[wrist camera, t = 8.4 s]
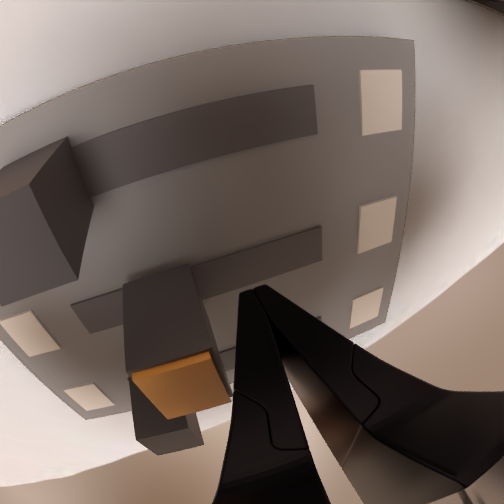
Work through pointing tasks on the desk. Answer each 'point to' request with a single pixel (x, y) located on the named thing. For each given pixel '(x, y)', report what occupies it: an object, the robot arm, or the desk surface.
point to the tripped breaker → (172, 344)
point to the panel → (203, 204)
